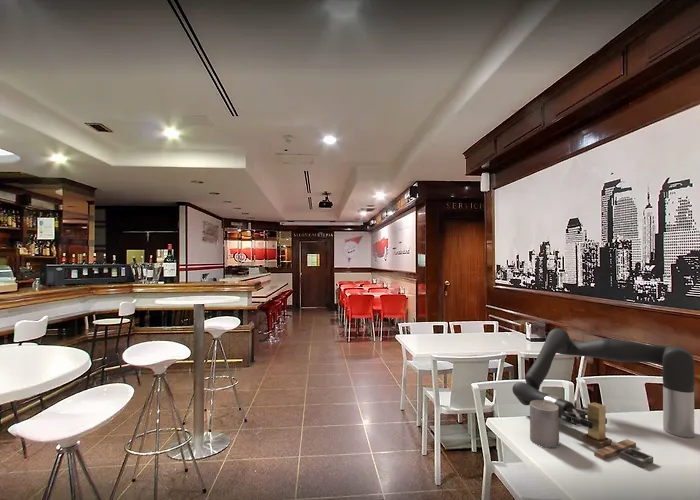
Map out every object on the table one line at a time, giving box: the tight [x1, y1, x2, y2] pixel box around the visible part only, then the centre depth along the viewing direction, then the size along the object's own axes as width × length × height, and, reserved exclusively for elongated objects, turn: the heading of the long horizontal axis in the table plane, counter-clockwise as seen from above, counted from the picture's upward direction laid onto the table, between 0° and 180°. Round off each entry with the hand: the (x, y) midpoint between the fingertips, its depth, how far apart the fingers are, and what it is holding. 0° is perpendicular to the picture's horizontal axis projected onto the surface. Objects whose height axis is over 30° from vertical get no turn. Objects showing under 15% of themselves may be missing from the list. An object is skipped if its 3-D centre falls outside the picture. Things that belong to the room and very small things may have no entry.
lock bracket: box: [581, 432, 654, 469], centre depth 132 cm, size 20×20×2 cm
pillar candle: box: [529, 400, 560, 449], centre depth 138 cm, size 10×10×15 cm
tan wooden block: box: [587, 401, 607, 442], centre depth 138 cm, size 4×4×14 cm
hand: (599, 423), depth 137 cm, fingers open, 8 cm apart
